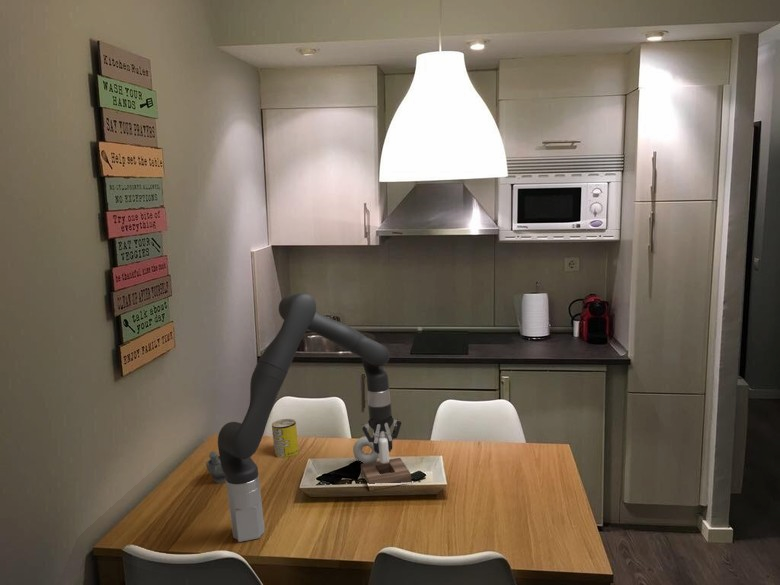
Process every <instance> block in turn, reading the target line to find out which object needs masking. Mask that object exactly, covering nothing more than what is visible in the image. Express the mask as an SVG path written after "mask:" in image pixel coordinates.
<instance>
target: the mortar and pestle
mask: <svg viewBox="0 0 780 585" xmlns="http://www.w3.org/2000/svg"><path fill="white" fill-rule="evenodd" d="M208 457H209V459H207V461H206V462H205V466H206V469H207V471H208V473H209V474H210V476H211V477H212V478H213V481H214V482H213V483H215V484H216V483H217V484H222V482H223V483H226V477H225V474H224V472H223V470H222V467H221V461H220V456H219V455H218V453H217V451H214V450H213V451H211V452H209V455H208Z"/></svg>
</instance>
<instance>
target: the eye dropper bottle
mask: <svg viewBox="0 0 780 585" xmlns="http://www.w3.org/2000/svg"><path fill="white" fill-rule="evenodd" d="M378 446H379V453H378V461H380V462H381V463H388V462H389V459H390V452H389V449H388V439H387V435H386V433H385V432H384V431H382V432H381V433H379V437H378Z"/></svg>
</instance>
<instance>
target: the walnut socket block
mask: <svg viewBox="0 0 780 585" xmlns="http://www.w3.org/2000/svg"><path fill="white" fill-rule="evenodd" d="M360 471H361V472H360V473H361V476H362V477H363V480H364V479H365V480H366V481H367V482H368V483H369V484H375V483H401V482H411V483H412V474H411V472H410V470H409V469H408V467H407V466H406V464H405V462H404V461H403V460H402V458H401V457H396V458H389V462H388V463H381V462H380V461H379V460H378V461H375V462H372V463H366V464H365V463H361V464H360ZM365 480H364V481H365Z"/></svg>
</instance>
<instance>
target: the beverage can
mask: <svg viewBox="0 0 780 585" xmlns="http://www.w3.org/2000/svg"><path fill="white" fill-rule="evenodd" d="M271 429H272V431H271V432H272V440H273V447H274V448H273V449H274V457H276V458H278V459H279V458H280V459H286V458H287V459H288V458H292V457H295V456H297V455H298V454H299V452H300V450H299V440H298V432H297V421H296V419H294V418H293V419H292V418H283V419H278V420H275V421H273V422H272V423H271Z"/></svg>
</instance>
